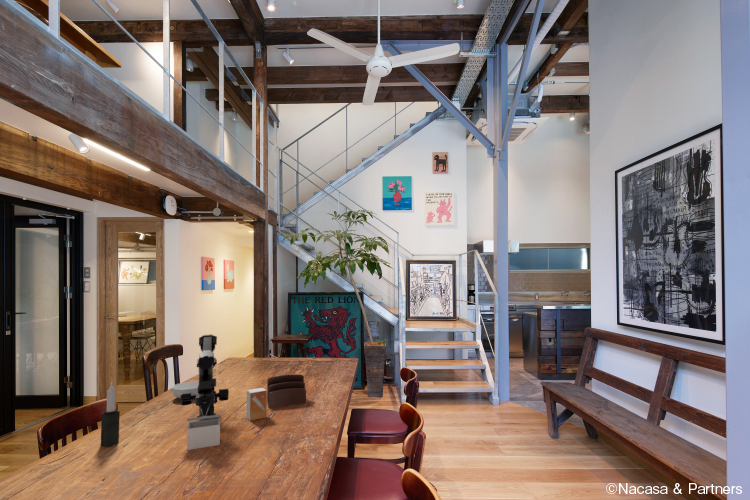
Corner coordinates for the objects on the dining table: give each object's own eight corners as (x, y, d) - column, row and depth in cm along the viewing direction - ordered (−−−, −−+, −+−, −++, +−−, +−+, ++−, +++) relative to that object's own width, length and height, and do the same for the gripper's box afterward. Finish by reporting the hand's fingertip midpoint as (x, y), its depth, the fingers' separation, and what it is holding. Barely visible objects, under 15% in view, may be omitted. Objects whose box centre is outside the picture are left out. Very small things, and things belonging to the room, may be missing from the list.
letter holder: (267, 402, 213) (267, 376, 214) (303, 398, 219) (303, 372, 220) (268, 408, 203) (268, 380, 204) (306, 403, 210) (306, 377, 211)
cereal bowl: (195, 402, 214) (195, 389, 215) (165, 402, 214) (165, 389, 215) (209, 393, 231) (209, 380, 232) (181, 393, 231) (181, 381, 232)
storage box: (188, 442, 162) (188, 422, 162) (219, 437, 166) (219, 418, 167) (187, 450, 154) (187, 429, 155) (219, 444, 159) (219, 424, 159)
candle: (120, 442, 162) (121, 381, 164) (108, 447, 158) (110, 384, 159) (111, 441, 164) (113, 380, 166) (99, 446, 159) (101, 383, 161)
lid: (188, 421, 163) (188, 418, 163) (220, 416, 167) (220, 414, 168) (187, 420, 155) (187, 418, 156) (220, 416, 160) (220, 414, 160)
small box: (249, 421, 185) (250, 393, 186) (246, 417, 190) (246, 389, 191) (266, 417, 189) (267, 390, 190) (262, 413, 195) (262, 387, 196)
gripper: (181, 374, 163) (178, 410, 153) (228, 369, 170) (229, 404, 160) (182, 387, 170) (179, 423, 160) (228, 382, 177) (228, 416, 167)
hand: (204, 416), depth 161 cm, fingers closed, pressing on lid
